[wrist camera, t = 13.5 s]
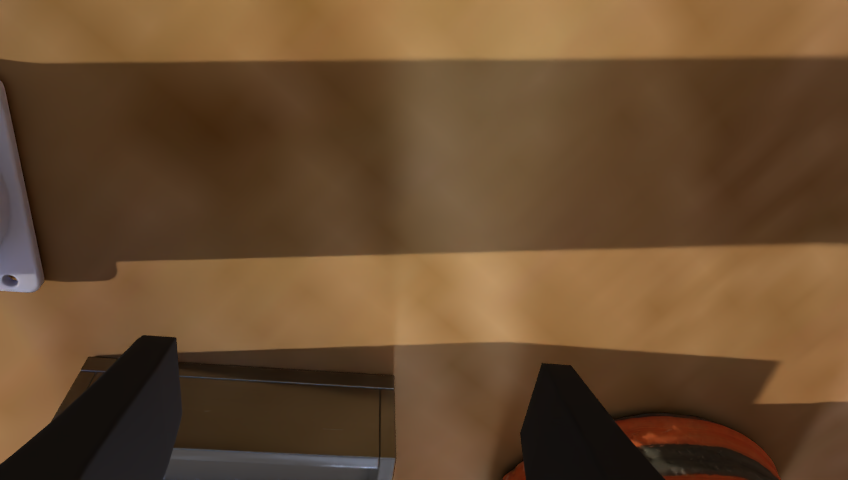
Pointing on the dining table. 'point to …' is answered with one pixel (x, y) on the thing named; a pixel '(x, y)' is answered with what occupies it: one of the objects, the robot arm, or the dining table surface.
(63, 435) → the robot arm
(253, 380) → the dark grey tray
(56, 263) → the dining table surface
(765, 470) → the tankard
